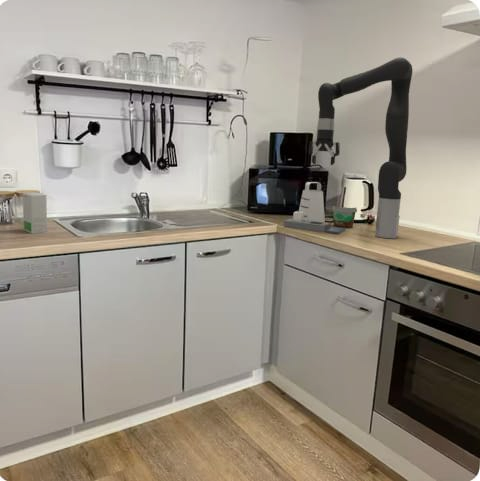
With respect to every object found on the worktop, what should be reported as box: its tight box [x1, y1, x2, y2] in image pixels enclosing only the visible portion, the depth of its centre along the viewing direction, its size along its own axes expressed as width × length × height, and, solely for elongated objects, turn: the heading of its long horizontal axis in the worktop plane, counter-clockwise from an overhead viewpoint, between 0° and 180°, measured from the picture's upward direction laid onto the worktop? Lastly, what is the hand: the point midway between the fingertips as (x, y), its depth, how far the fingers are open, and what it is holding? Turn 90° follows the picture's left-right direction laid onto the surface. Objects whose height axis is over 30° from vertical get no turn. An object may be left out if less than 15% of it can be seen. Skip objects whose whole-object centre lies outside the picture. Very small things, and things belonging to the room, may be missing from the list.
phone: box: [324, 226, 347, 235], centre depth 209 cm, size 6×12×1 cm, turn 152°
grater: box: [298, 181, 326, 222], centre depth 236 cm, size 10×10×20 cm
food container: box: [331, 205, 358, 229], centre depth 221 cm, size 12×6×10 cm, turn 62°
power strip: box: [283, 217, 331, 233], centre depth 215 cm, size 20×9×3 cm, turn 62°
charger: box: [292, 210, 305, 222], centre depth 217 cm, size 4×4×7 cm
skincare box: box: [22, 191, 48, 235], centre depth 183 cm, size 8×7×16 cm
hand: (322, 164), depth 212 cm, fingers open, 8 cm apart
